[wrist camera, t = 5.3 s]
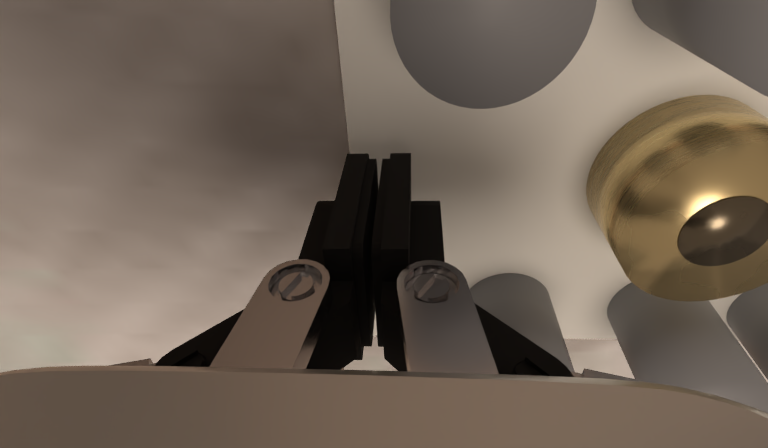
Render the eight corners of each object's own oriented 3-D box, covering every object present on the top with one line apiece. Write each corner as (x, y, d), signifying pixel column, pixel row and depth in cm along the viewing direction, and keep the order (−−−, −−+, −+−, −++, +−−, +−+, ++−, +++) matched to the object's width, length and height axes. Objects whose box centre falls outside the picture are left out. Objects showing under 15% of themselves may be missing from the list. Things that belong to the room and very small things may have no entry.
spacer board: (330, -121, 10) (268, -130, 6) (1375, -185, 9) (2296, -258, 4) (370, 312, 18) (357, 436, 14) (903, 318, 17) (1064, 459, 13)
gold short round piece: (608, 96, 11) (653, 145, 9) (802, 92, 11) (897, 140, 9) (571, 240, 14) (599, 302, 12) (726, 239, 14) (784, 304, 12)
